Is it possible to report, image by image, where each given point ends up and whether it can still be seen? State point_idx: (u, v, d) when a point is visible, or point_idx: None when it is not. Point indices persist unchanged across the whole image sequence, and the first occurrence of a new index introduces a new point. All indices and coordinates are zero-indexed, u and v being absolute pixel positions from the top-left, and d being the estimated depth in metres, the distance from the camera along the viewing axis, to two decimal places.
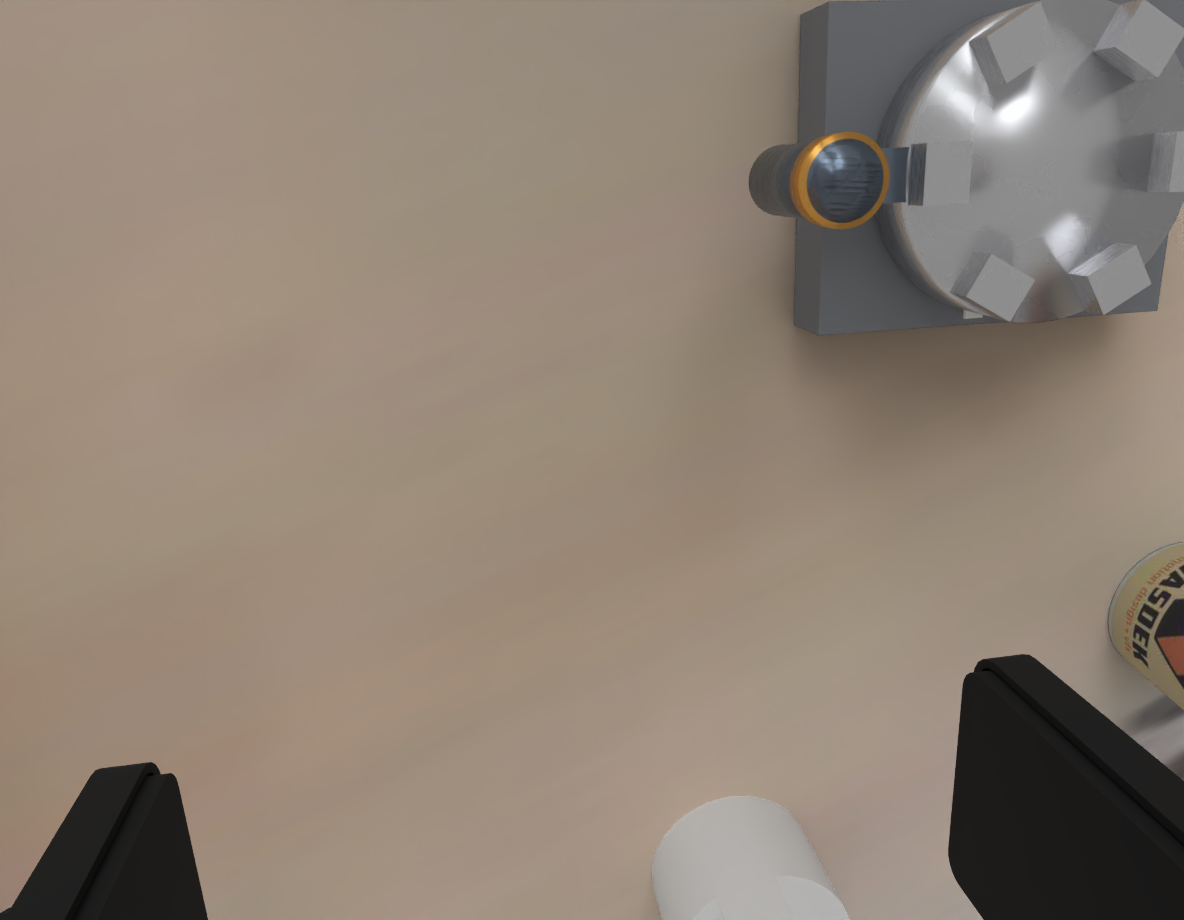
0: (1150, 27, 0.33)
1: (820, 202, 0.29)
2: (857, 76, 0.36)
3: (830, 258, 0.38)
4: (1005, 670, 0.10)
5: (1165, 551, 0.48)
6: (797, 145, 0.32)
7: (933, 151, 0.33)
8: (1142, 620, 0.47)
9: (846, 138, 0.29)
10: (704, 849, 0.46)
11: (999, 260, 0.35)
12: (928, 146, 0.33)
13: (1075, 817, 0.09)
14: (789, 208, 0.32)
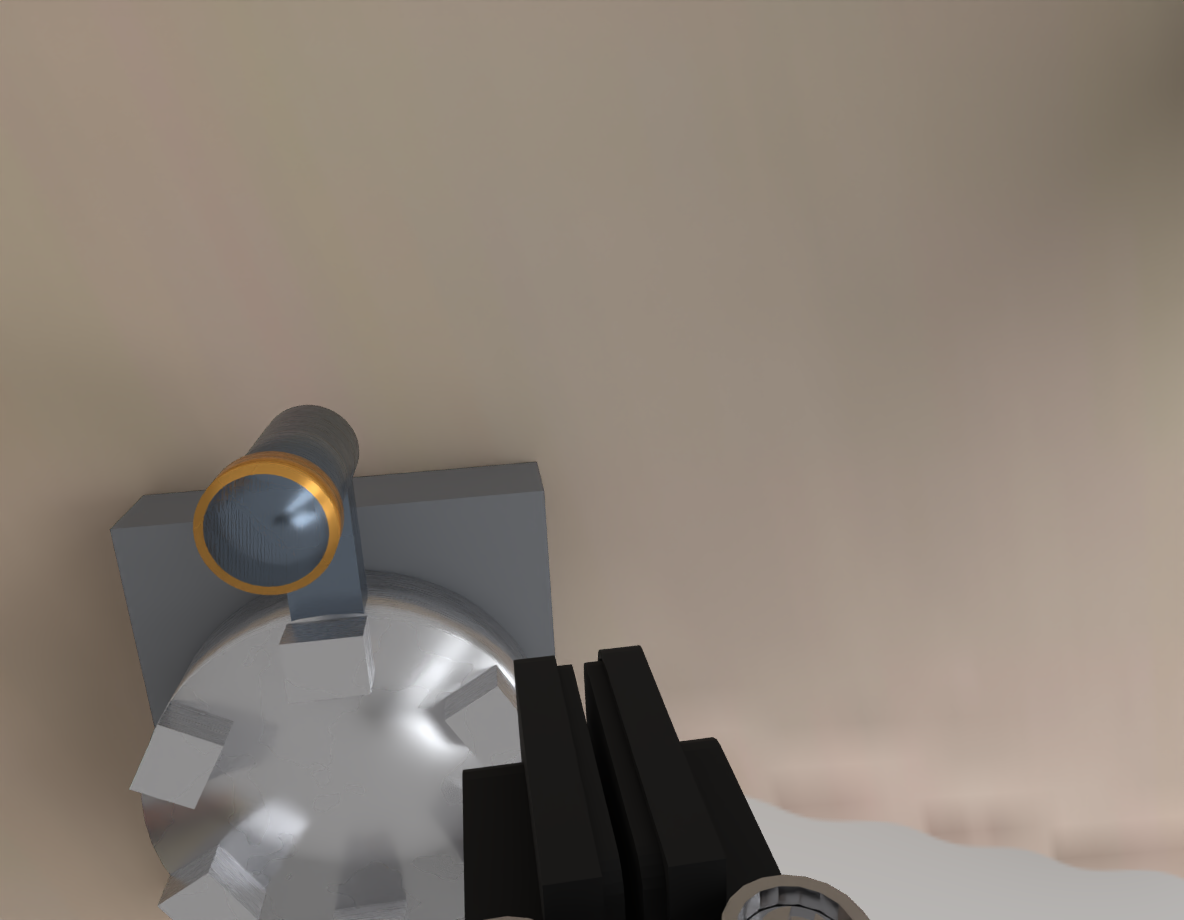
0: None
1: (230, 498, 0.19)
2: (460, 536, 0.29)
3: None
4: (607, 660, 0.11)
5: None
6: (339, 462, 0.22)
7: (352, 646, 0.24)
8: None
9: (328, 525, 0.20)
10: None
11: (215, 758, 0.25)
12: (358, 638, 0.24)
13: (612, 796, 0.09)
14: None
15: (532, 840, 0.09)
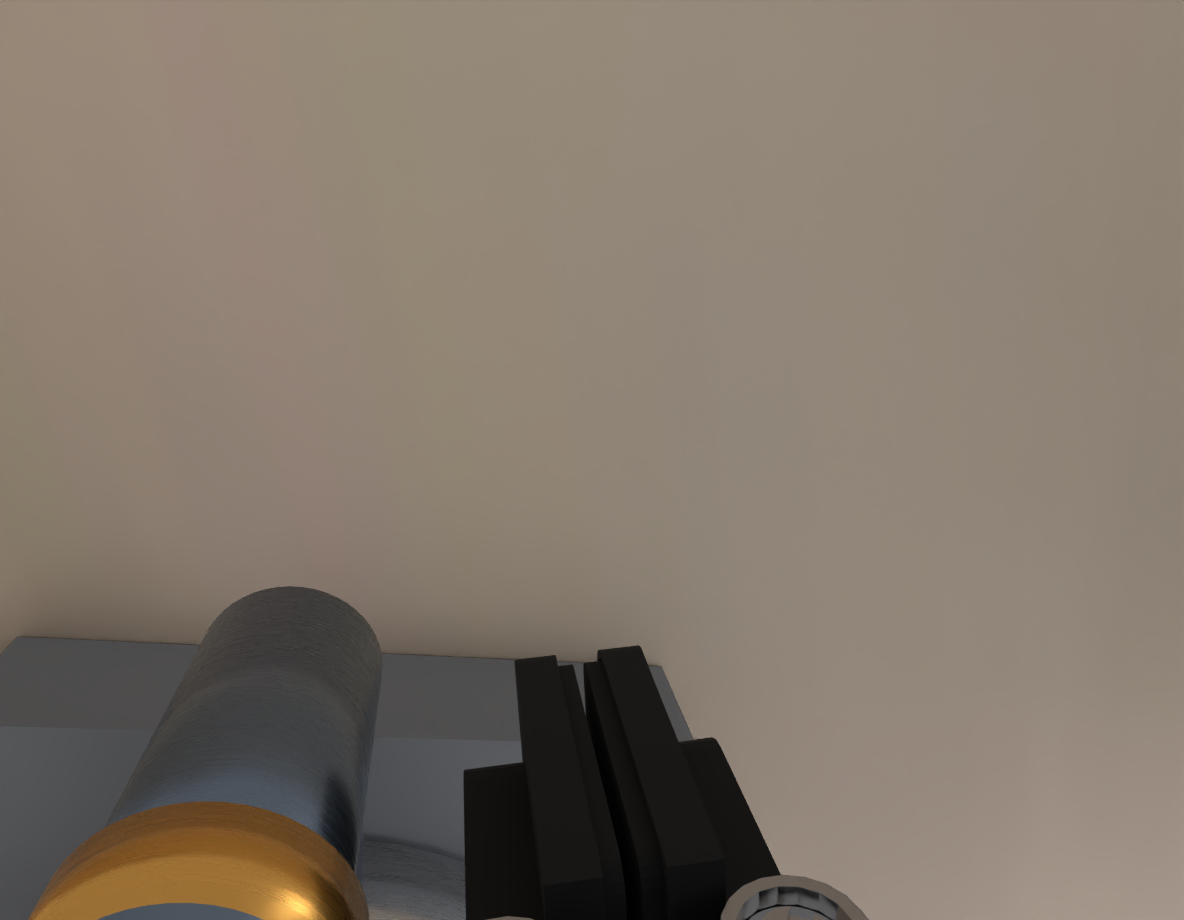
0: None
1: None
2: None
3: None
4: (607, 660, 0.11)
5: None
6: (358, 756, 0.11)
7: None
8: None
9: None
10: None
11: None
12: None
13: (611, 796, 0.09)
14: (150, 758, 0.10)
15: (533, 840, 0.09)
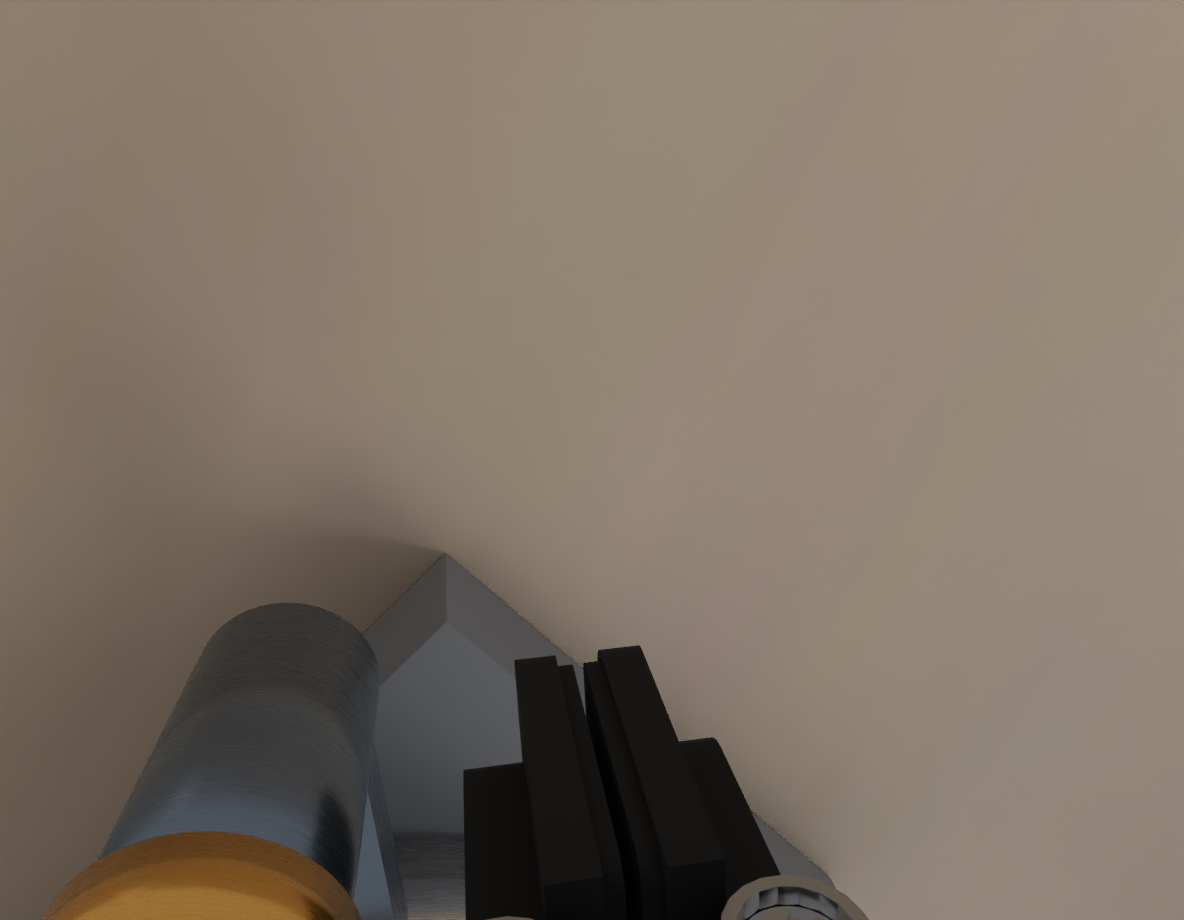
0: None
1: None
2: None
3: None
4: (607, 660, 0.11)
5: None
6: (347, 763, 0.11)
7: None
8: None
9: None
10: None
11: None
12: None
13: (611, 796, 0.09)
14: (134, 796, 0.10)
15: (533, 840, 0.09)
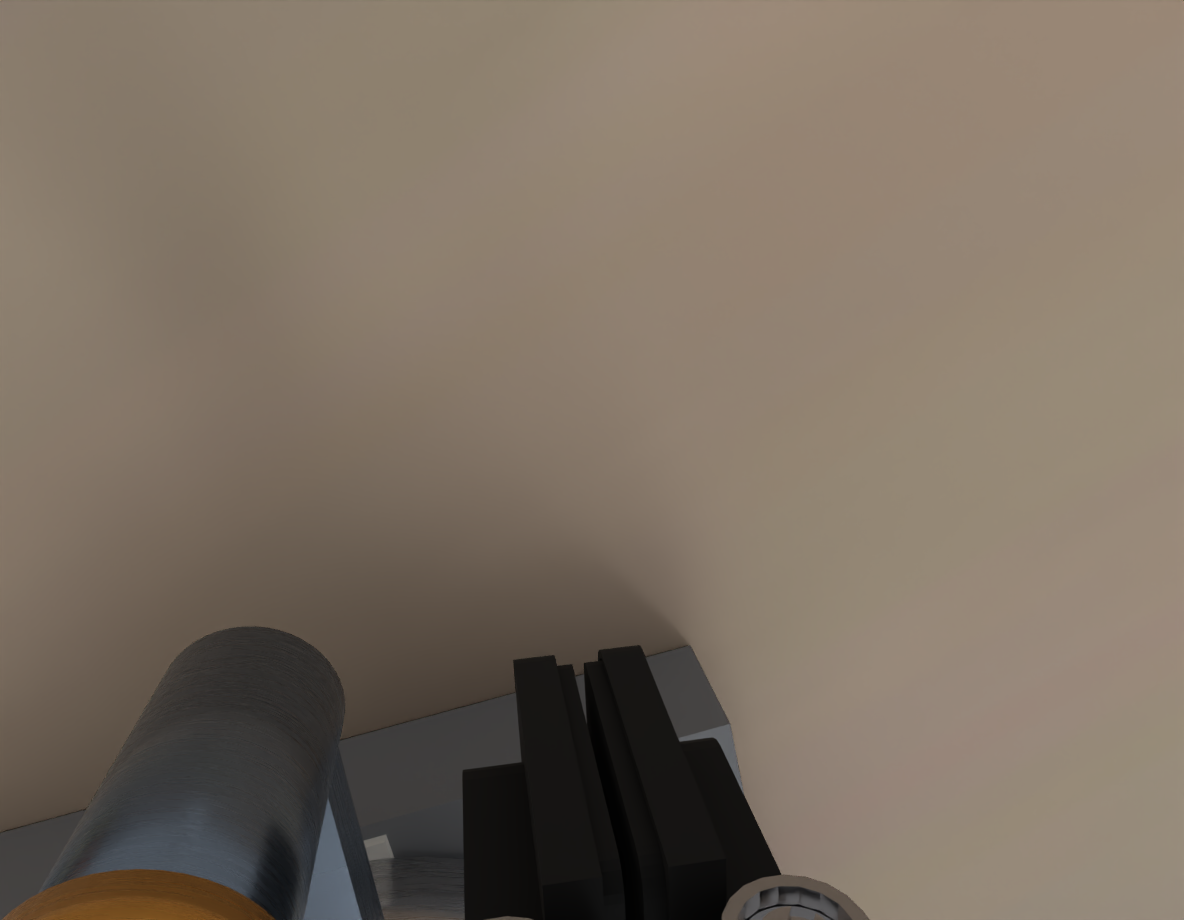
0: None
1: None
2: None
3: None
4: (607, 660, 0.11)
5: None
6: (296, 790, 0.10)
7: None
8: None
9: None
10: None
11: None
12: None
13: (612, 796, 0.09)
14: (75, 832, 0.10)
15: (532, 840, 0.09)
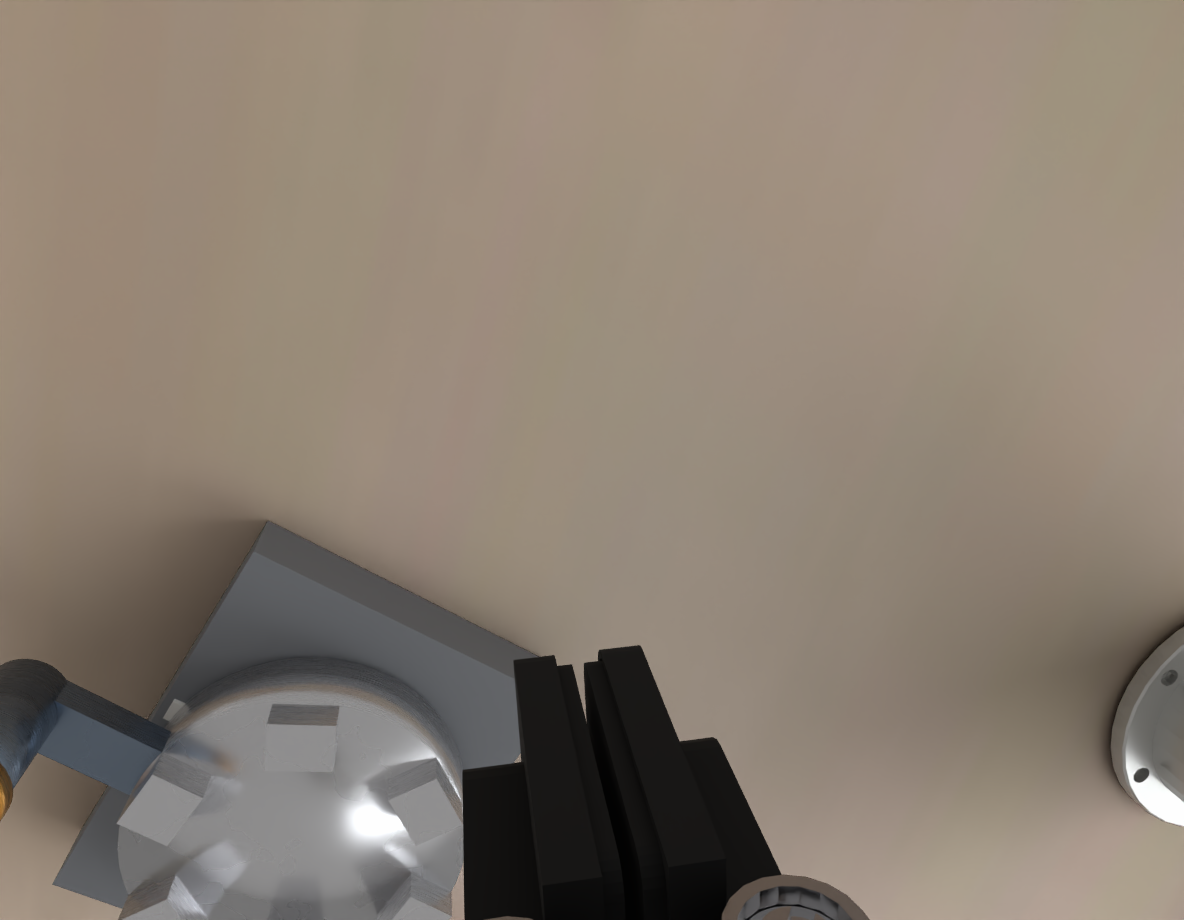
0: (430, 804, 0.32)
1: None
2: (482, 696, 0.36)
3: (330, 600, 0.33)
4: (607, 660, 0.11)
5: None
6: None
7: (155, 785, 0.30)
8: None
9: None
10: None
11: (171, 908, 0.31)
12: (151, 778, 0.29)
13: (612, 795, 0.09)
14: None
15: (532, 840, 0.09)
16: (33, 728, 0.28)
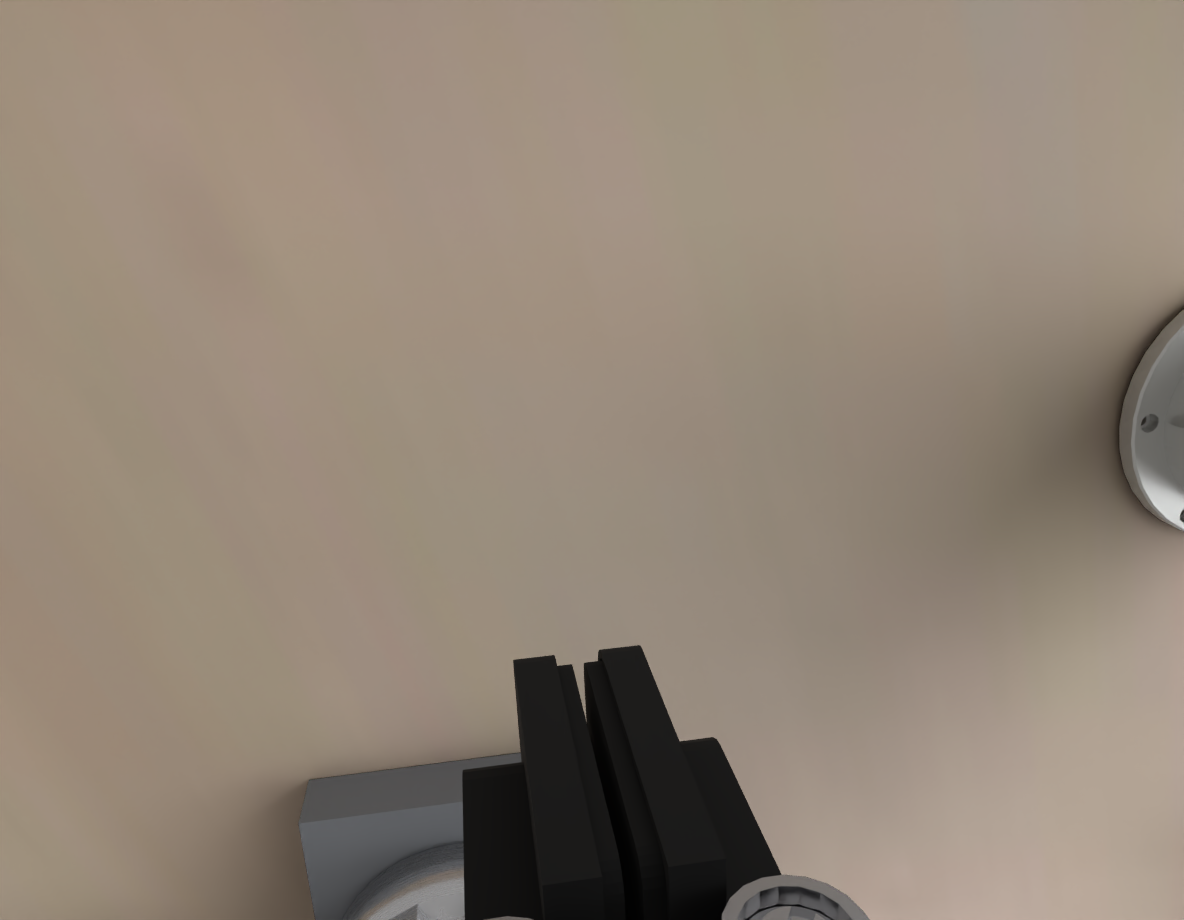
0: None
1: None
2: None
3: (376, 821, 0.40)
4: (607, 660, 0.11)
5: None
6: None
7: None
8: None
9: None
10: None
11: None
12: None
13: (612, 796, 0.09)
14: None
15: (532, 840, 0.09)
16: None
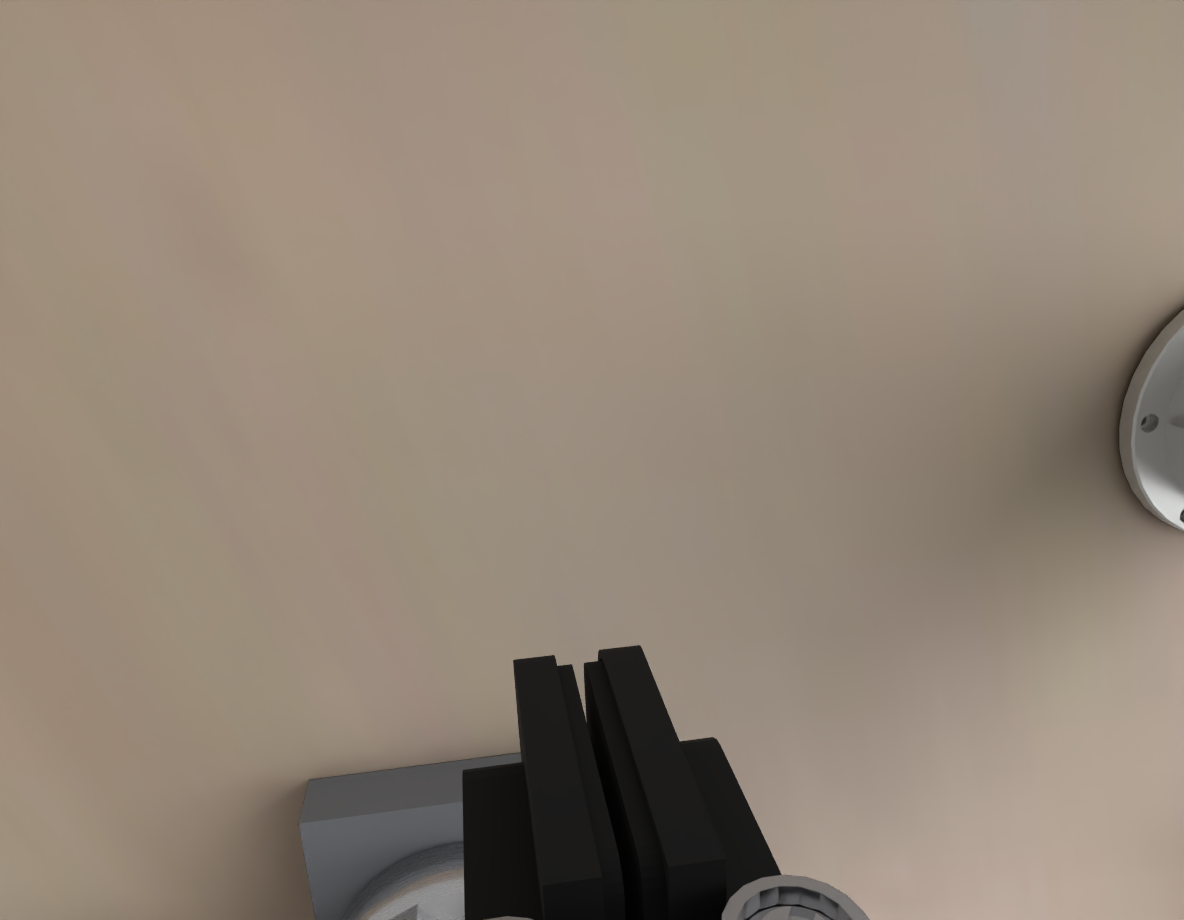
0: None
1: None
2: None
3: (376, 821, 0.40)
4: (607, 660, 0.11)
5: None
6: None
7: None
8: None
9: None
10: None
11: None
12: None
13: (612, 796, 0.09)
14: None
15: (532, 840, 0.09)
16: None
